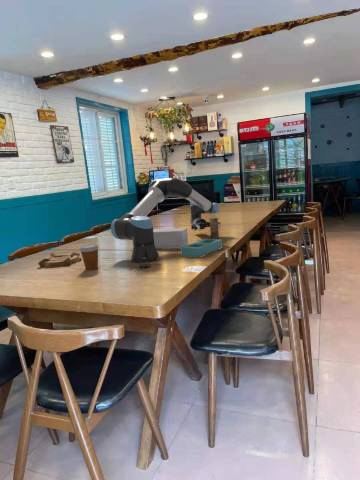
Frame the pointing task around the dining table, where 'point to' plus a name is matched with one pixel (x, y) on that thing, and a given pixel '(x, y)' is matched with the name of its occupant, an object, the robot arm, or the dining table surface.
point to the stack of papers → (170, 238)
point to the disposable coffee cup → (90, 256)
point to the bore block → (201, 247)
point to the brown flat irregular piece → (59, 260)
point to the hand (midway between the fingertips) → (209, 227)
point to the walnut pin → (214, 228)
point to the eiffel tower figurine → (144, 262)
